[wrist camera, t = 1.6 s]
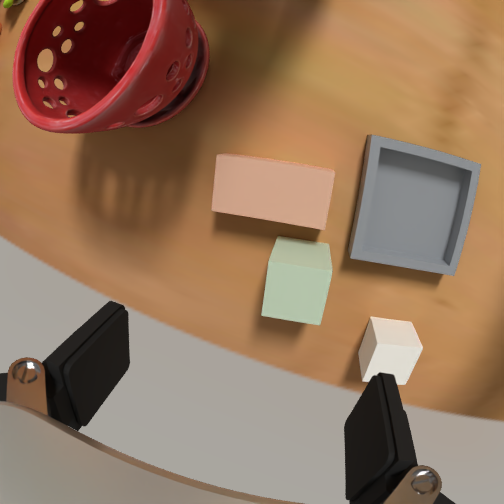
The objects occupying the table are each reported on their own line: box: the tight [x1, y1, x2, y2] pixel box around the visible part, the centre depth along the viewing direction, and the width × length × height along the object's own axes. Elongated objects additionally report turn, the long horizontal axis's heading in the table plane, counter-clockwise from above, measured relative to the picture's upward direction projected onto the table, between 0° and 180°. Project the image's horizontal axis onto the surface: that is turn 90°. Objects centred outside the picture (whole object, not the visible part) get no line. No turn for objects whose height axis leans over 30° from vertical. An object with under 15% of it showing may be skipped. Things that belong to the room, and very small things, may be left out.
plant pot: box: [13, 0, 210, 133], centre depth 19 cm, size 13×13×12 cm
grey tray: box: [348, 135, 481, 276], centre depth 23 cm, size 10×10×2 cm
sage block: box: [261, 236, 333, 325], centre depth 25 cm, size 4×4×6 cm
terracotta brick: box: [211, 153, 335, 230], centre depth 25 cm, size 9×4×3 cm, turn 83°
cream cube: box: [358, 317, 423, 385], centre depth 27 cm, size 4×4×4 cm
